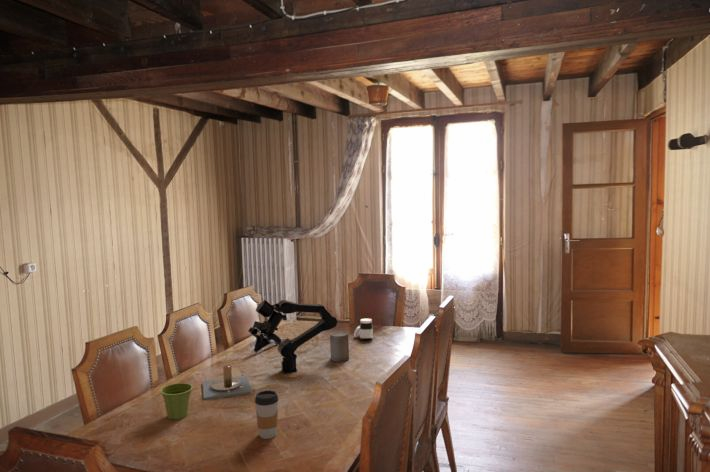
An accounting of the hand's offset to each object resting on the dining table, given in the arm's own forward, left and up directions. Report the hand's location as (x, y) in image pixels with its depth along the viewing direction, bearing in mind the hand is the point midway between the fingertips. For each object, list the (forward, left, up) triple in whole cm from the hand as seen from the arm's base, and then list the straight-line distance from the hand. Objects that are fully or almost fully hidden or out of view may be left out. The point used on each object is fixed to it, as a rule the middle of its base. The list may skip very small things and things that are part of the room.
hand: (254, 351), depth 227 cm
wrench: (-12, -45, -14) cm, 49 cm away
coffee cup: (+3, +55, -14) cm, 57 cm away
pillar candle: (-45, -14, -14) cm, 49 cm away
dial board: (+14, +5, -14) cm, 20 cm away
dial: (+14, +5, -12) cm, 19 cm away
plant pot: (+34, +27, -14) cm, 46 cm away
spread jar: (-69, -44, -14) cm, 83 cm away
